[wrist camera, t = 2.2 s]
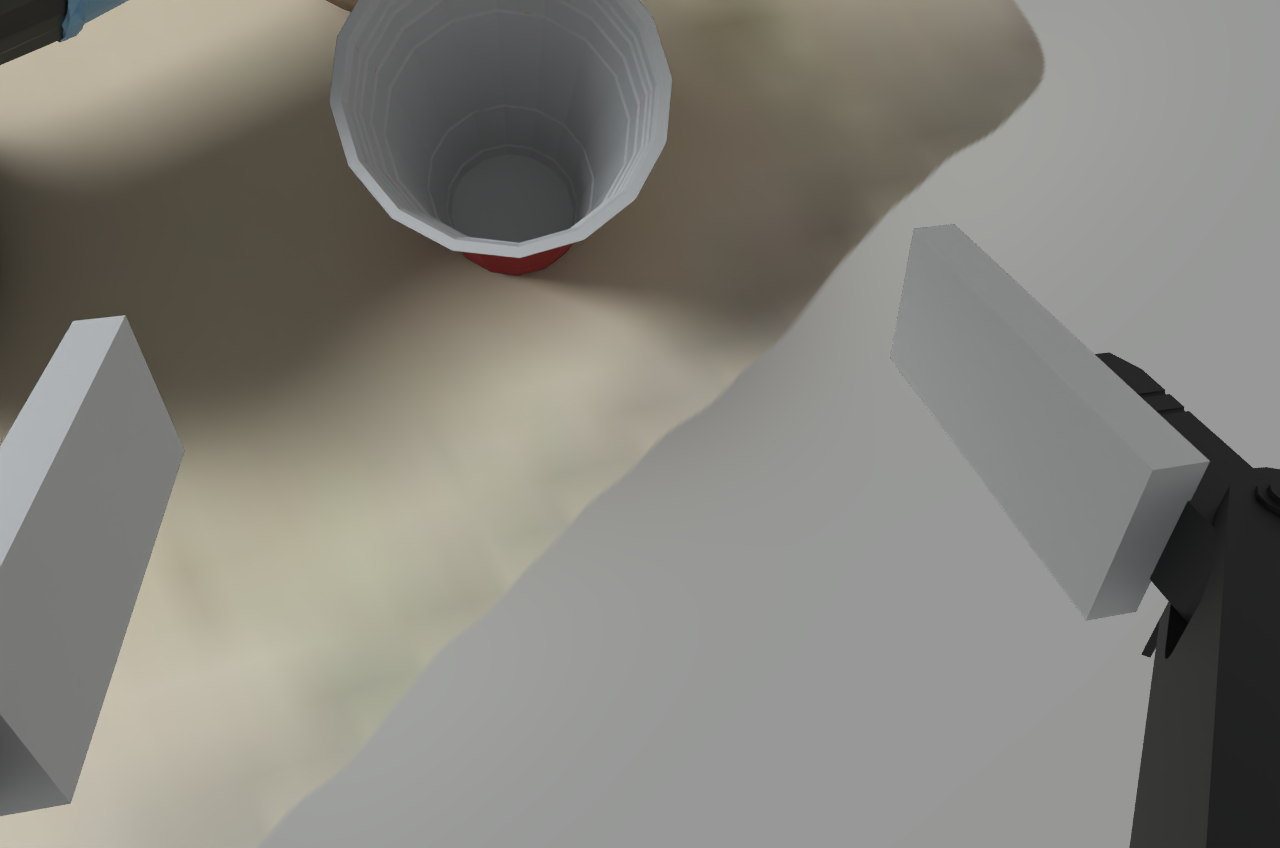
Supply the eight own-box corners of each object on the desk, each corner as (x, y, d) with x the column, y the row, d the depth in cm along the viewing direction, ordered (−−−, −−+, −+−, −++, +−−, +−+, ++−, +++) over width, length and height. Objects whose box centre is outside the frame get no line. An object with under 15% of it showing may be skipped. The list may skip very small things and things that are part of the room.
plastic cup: (331, 228, 39) (246, 93, 27) (493, 54, 41) (480, -142, 29) (526, 386, 39) (526, 321, 27) (678, 207, 41) (740, 74, 29)
